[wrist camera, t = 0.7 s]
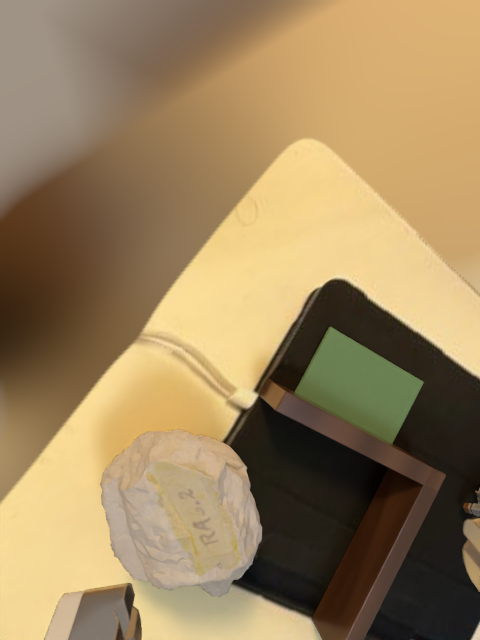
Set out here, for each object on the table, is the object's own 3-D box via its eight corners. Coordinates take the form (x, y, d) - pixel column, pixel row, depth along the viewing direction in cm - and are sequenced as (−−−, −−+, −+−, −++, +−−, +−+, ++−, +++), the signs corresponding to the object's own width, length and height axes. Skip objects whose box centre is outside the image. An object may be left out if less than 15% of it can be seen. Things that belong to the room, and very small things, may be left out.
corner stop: (166, 567, 29) (170, 609, 25) (267, 377, 30) (286, 390, 26) (325, 623, 33) (349, 668, 29) (411, 453, 33) (446, 475, 30)
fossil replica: (189, 582, 30) (271, 475, 32) (222, 684, 22) (328, 534, 24) (59, 499, 26) (160, 383, 28) (44, 586, 18) (185, 419, 20)
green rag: (293, 393, 30) (294, 394, 30) (329, 326, 31) (330, 326, 30) (389, 444, 33) (391, 445, 33) (421, 381, 33) (423, 382, 33)
